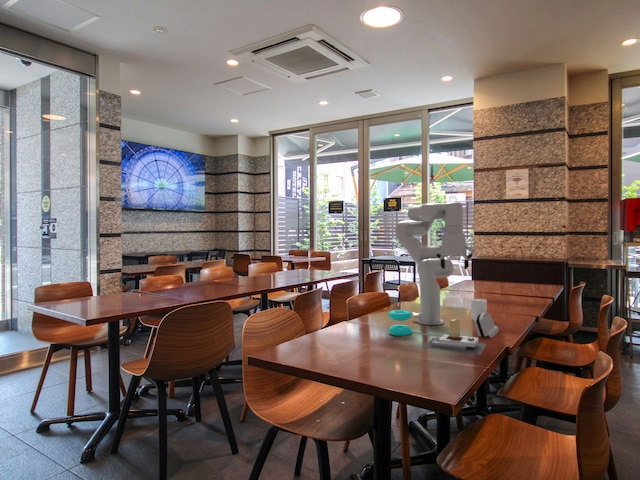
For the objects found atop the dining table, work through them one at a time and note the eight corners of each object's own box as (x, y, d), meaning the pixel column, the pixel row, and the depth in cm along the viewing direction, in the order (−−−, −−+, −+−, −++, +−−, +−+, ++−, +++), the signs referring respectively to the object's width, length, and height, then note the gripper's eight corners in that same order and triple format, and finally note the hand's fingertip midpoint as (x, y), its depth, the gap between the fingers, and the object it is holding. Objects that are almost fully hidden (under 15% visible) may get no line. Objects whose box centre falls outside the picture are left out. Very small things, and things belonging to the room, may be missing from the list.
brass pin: (448, 346, 157) (447, 320, 157) (450, 343, 161) (450, 318, 160) (459, 347, 155) (458, 321, 155) (461, 345, 159) (460, 319, 158)
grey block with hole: (431, 346, 158) (430, 337, 158) (436, 340, 166) (436, 332, 166) (474, 351, 150) (474, 341, 150) (478, 345, 158) (478, 336, 158)
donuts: (410, 314, 173) (386, 313, 177) (410, 337, 174) (387, 336, 177) (412, 310, 183) (390, 309, 186) (413, 332, 183) (391, 330, 186)
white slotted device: (491, 339, 169) (482, 315, 170) (480, 341, 171) (471, 318, 173) (499, 330, 182) (491, 309, 184) (489, 333, 185) (481, 311, 187)
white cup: (488, 318, 207) (488, 299, 207) (485, 321, 201) (485, 301, 201) (472, 317, 212) (472, 298, 212) (468, 320, 205) (468, 300, 205)
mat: (422, 349, 156) (422, 347, 156) (432, 339, 170) (432, 338, 170) (480, 356, 146) (480, 354, 146) (486, 345, 160) (486, 343, 160)
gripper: (432, 230, 181) (432, 269, 182) (473, 229, 173) (473, 270, 173) (436, 230, 188) (436, 267, 188) (475, 229, 179) (476, 268, 179)
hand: (454, 268), depth 180 cm, fingers open, 9 cm apart
